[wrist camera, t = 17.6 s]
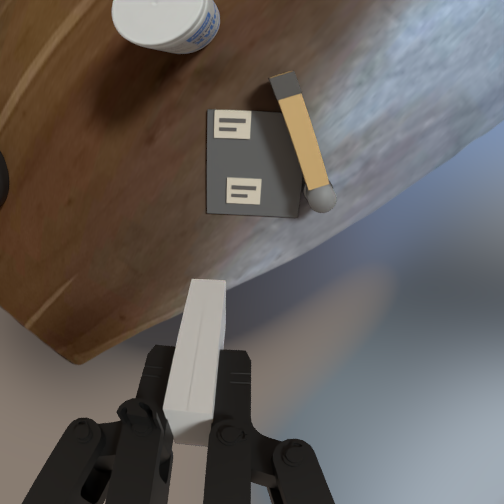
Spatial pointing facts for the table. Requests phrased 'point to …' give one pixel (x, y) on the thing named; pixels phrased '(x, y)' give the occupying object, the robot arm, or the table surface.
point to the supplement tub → (167, 23)
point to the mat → (255, 167)
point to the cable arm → (303, 141)
